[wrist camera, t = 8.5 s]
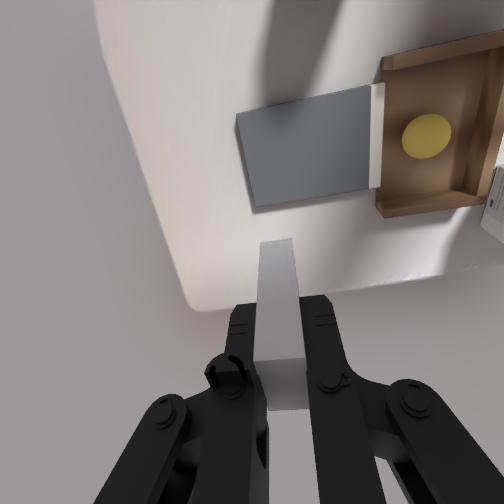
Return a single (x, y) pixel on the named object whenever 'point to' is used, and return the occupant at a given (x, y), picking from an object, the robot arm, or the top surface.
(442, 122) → the ball
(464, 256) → the top surface
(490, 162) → the tray
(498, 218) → the container
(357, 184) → the grey flat slab
